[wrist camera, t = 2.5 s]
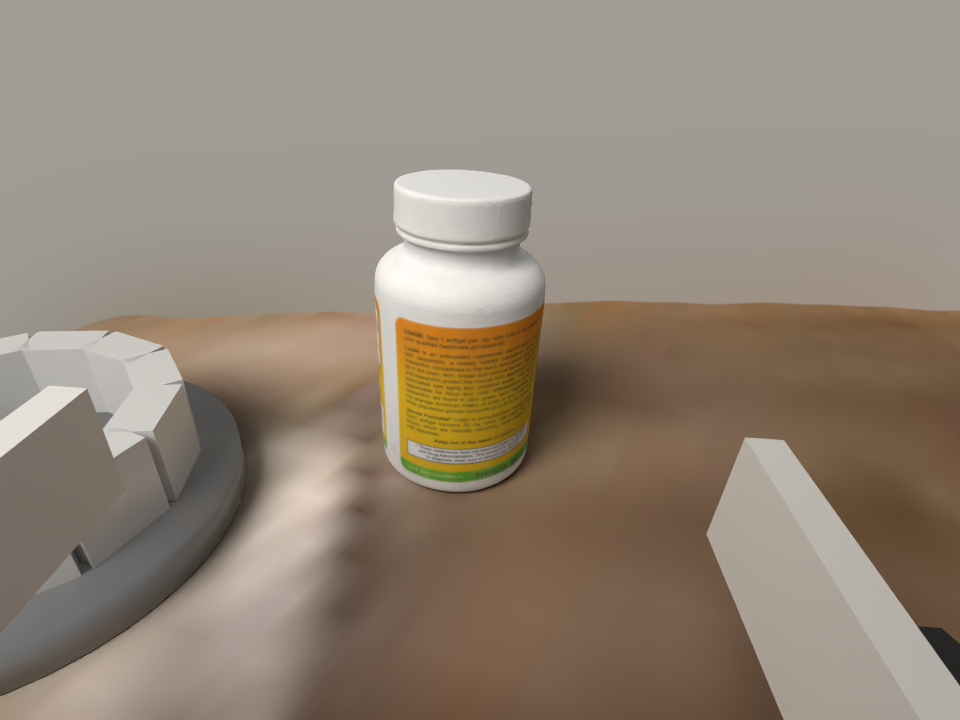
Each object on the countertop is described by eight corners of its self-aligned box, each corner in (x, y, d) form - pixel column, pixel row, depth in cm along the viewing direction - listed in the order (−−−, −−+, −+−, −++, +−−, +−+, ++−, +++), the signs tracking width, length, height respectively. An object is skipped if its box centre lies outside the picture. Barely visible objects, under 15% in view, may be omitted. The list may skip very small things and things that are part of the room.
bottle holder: (319, 452, 22) (307, 362, 20) (-94, 847, 11) (-229, 744, 9) (91, 373, 27) (59, 291, 24) (-374, 600, 15) (-514, 488, 13)
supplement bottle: (556, 458, 23) (598, 193, 17) (435, 521, 20) (437, 218, 14) (470, 390, 27) (481, 158, 21) (358, 433, 24) (335, 172, 18)
